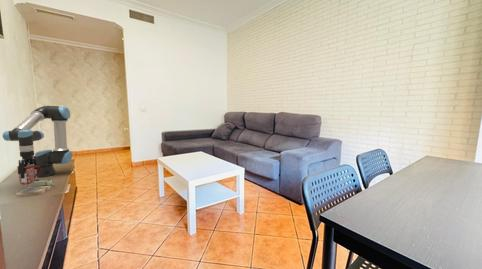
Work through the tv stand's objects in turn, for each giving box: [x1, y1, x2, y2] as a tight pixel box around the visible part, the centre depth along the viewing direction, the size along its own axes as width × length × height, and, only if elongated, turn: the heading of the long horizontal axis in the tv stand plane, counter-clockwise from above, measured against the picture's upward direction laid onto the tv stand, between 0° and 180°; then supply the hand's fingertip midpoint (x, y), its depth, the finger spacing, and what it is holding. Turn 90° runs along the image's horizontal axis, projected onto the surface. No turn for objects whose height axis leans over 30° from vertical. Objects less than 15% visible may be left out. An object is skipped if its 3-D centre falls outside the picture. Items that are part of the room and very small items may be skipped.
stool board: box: [15, 178, 55, 197], centre depth 165 cm, size 18×14×6 cm
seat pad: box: [19, 187, 41, 193], centre depth 162 cm, size 11×11×1 cm
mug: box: [16, 164, 40, 186], centre depth 160 cm, size 13×9×14 cm
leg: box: [27, 179, 53, 187], centre depth 170 cm, size 15×4×4 cm, turn 109°
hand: (29, 179), depth 161 cm, fingers closed on mug, 10 cm apart
